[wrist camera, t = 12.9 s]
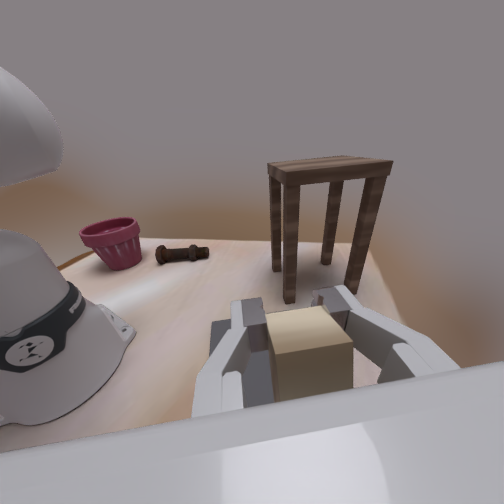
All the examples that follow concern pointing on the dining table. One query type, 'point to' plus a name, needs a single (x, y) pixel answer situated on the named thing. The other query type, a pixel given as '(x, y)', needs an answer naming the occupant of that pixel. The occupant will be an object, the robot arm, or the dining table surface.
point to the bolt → (180, 253)
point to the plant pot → (114, 241)
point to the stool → (334, 173)
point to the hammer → (308, 354)
